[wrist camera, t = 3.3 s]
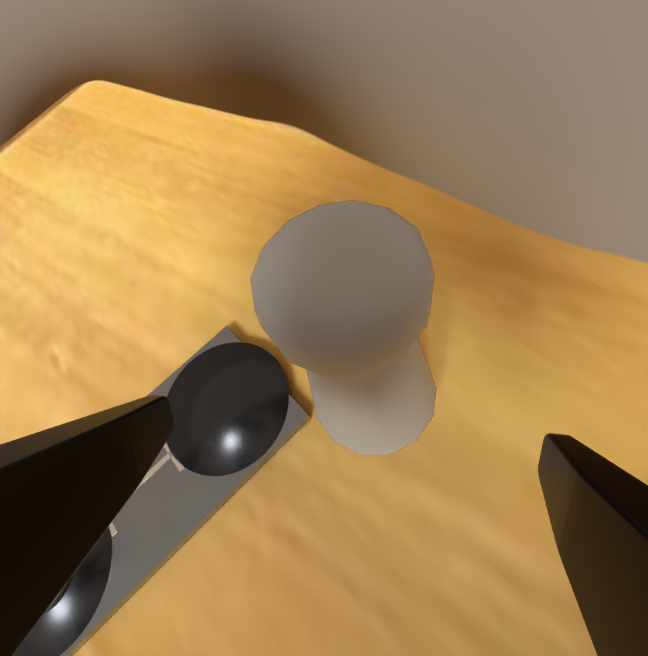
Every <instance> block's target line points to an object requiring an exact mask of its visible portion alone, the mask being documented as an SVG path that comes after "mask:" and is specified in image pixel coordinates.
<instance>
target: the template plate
mask: <svg viewBox="0 0 648 656" xmlns="http://www.w3.org/2000/svg"><path fill="white" fill-rule="evenodd" d="M149 395H162V396H166V397H167V398H168V399H169V401H170V405H171V409H172V414H173V418H174V429H173V432H172V433H171V435H170V437H169V438H168V440H167V442H166V443H165V445H164V446H163V448H162V450H161V451H160V453H159V455H158V456H157V458H156V459H155V461H154V463H153V464H152V466H151V468H150V469H149V471H148V472H147V474H146V476H145V477H144V479H143V480H142V482H141V483H140V485H139V486H138V487H137V489H136V490H135V492H134V493H133V494H132V496H131V497H130V498H129V500H128V501H127V502H126V504H125V505H124V506H123V508H122V509H121V510H120V512H119V513H118V514H117V516H116V517H115V518H114V520H113V521H112V522H111V524H110V525H109V526H108V528H107V529H106V531H105V532H104V533H103V535H102V536H101V537H100V539H99V540H98V541H97V543H96V544H95V545H94V547H93V548H92V549H91V551H90V552H89V553H88V555H87V556H86V557H85V559H84V560H83V561H82V563H81V564H80V565H79V567H78V568H77V570H76V571H75V572H74V576H73V579H72V581H71V584H70V586H69V588H68V590H67V592H66V593H65V595H64V596H63V598H62V599H61V600H60V601H59V603H58V604H57V605H56V606H55V607H53V608H52V609H51V610H50V611H48V612H46V613H45V614H43V615H42V617H41V618H40V619H39V621H38V622H37V623H36V625H35V626H34V627H33V629H32V630H31V631H30V633H29V634H28V635H27V637H26V638H25V639H24V641H23V642H22V643H21V645H20V646H19V648H18V649H17V650H16V652H15V653H14V654H13V656H73V655H74V654H75V653H76V652H77V651H78V650H79V649H80V648H81V647H82V646H83V645H84V644H85V643H86V642H87V641H88V640H89V639H90V638H91V637H92V636H93V635H94V634H95V633H96V632H97V631H98V630H99V629H100V628H101V627H102V626H103V625H104V624H105V623H106V622H107V621H108V620H109V619H110V618H111V617H112V616H113V615H114V614H115V613H116V612H117V611H118V610H119V609H120V608H121V607H122V606H123V605H124V604H125V603H126V602H127V601H128V600H129V599H130V598H131V597H132V596H133V595H134V594H135V593H136V592H137V591H138V590H139V589H140V588H141V587H142V586H143V585H144V584H145V583H146V582H147V581H148V580H149V579H150V578H151V577H152V576H153V575H154V574H155V573H156V572H157V571H158V570H159V569H160V568H161V567H162V566H163V565H164V564H165V563H166V562H167V561H168V560H169V559H170V558H171V557H172V556H173V555H174V554H175V553H176V552H177V551H178V550H179V549H180V548H181V547H182V546H183V545H184V544H185V543H186V542H187V541H188V540H189V539H190V538H191V537H192V536H193V535H194V534H195V533H196V532H197V531H198V530H199V529H200V528H201V527H202V526H203V525H204V524H205V523H206V522H207V521H208V520H209V519H210V518H211V517H212V516H213V515H214V514H215V513H216V512H217V511H218V510H219V509H220V508H221V507H222V506H223V505H224V504H225V503H226V502H227V501H228V500H229V499H230V498H231V497H232V496H233V495H234V494H235V493H236V492H237V491H238V490H239V489H240V488H241V487H242V486H243V485H244V484H245V483H246V482H247V481H248V480H249V479H250V478H251V477H252V476H253V475H254V474H255V473H256V472H257V471H258V470H259V469H260V468H261V467H262V466H263V465H264V464H265V463H266V462H267V461H268V460H269V459H270V458H271V457H272V456H273V455H274V454H275V453H276V452H277V451H278V450H279V449H280V448H281V447H282V446H283V445H284V444H285V443H286V442H287V441H288V440H289V439H290V438H291V437H292V436H293V435H294V434H295V433H296V432H297V431H298V430H299V429H300V428H301V427H302V426H303V425H304V424H305V423H306V422H307V421H308V420H309V419H310V418H311V417H310V416H309V415H308V414H307V413H306V412H305V411H304V410H303V408H302V407H301V406H300V405H299V404H298V403H297V402H296V401H295V400H294V399H293V398H292V394H291V387H290V383H289V380H288V377H287V375H286V373H285V371H284V369H283V368H282V366H281V365H280V364H279V363H278V361H277V360H276V359H275V358H274V357H273V356H272V355H271V354H270V353H268V352H267V351H265V350H264V349H262V348H260V347H258V346H256V345H252V344H249V343H242V342H241V341H240V340H239V339H238V338H237V337H236V336H235V335H234V334H233V333H232V331H231V330H230V329H229V328H228V327H227V326H226V327H225V328H224V329H223V330H222V331H221V332H219V333H218V334H217V335H216V336H215V337H214V338H213V339H212V340H210V341H209V342H208V343H207V344H206V345H205V346H204V347H202V348H201V349H200V350H199V351H198V352H197V353H196V354H195V355H193V356H192V357H191V358H190V359H189V360H188V361H187V362H186V363H184V364H183V365H182V366H181V367H180V368H179V369H178V370H177V371H175V372H174V373H173V374H172V375H171V376H170V377H169V378H167V379H166V380H165V381H164V382H163V383H162V384H161V385H160V386H158V387H157V388H156V389H155V390H154V391H153V392H152V393H151V394H149ZM149 395H148V396H149Z"/></svg>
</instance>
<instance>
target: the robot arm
mask: <svg viewBox="0 0 648 656" xmlns="http://www.w3.org/2000/svg"><path fill="white" fill-rule="evenodd" d="M173 429H174V418H173V414H172V409H171V405H170V401H169V399H168V398H167V397H166V396H162V395H149V396H146V397H143V398H140V399H137V400H134V401H131V402H128V403H125V404H122V405H119V406H116V407H113V408H110V409H107V410H104V411H101V412H98V413H95V414H92V415H89V416H86V417H83V418H80V419H77V420H74V421H71V422H68V423H65V424H62V425H59V426H55V427H52V428H49V429H46V430H43V431H40V432H37V433H34V434H31V435H28V436H25V437H22V438H19V439H16V440H13V441H10V442H7V443H4V444H1V445H0V656H13V654H14V653H15V652H16V650H17V649H18V648H19V646H20V645H21V643H22V642H23V641H24V639H25V638H26V637H27V635H28V634H29V633H30V631H31V630H32V629H33V627H34V626H35V625H36V623H37V622H38V621H39V619H40V618H41V617H42V615H43V614H44V613H45V611H46V610H47V609H48V607H49V606H50V604H51V603H52V602H53V600H54V599H55V598H56V596H57V595H58V594H59V592H60V591H61V590H62V588H63V587H64V586H65V584H66V583H67V582H68V580H69V579H70V578H71V576H72V575H73V574H74V572H75V571H76V570H77V568H78V567H79V565H80V564H81V563H82V561H83V560H84V559H85V557H86V556H87V555H88V553H89V552H90V551H91V549H92V548H93V547H94V545H95V544H96V543H97V541H98V540H99V539H100V537H101V536H102V535H103V533H104V532H105V531H106V529H107V528H108V526H109V525H110V524H111V522H112V521H113V520H114V518H115V517H116V516H117V514H118V513H119V512H120V510H121V509H122V508H123V506H124V505H125V504H126V502H127V501H128V500H129V498H130V497H131V496H132V494H133V493H134V492H135V490H136V489H137V487H138V486H139V485H140V483H141V482H142V480H143V479H144V477H145V476H146V474H147V472H148V471H149V469H150V468H151V466H152V464H153V463H154V461H155V459H156V458H157V456H158V455H159V453H160V451H161V450H162V448H163V446H164V445H165V443H166V442H167V440H168V438H169V437H170V435H171V433H172V432H173ZM538 473H539V479H540V483H541V487H542V491H543V495H544V499H545V502H546V506H547V510H548V514H549V518H550V522H551V526H552V530H553V534H554V537H555V541H556V545H557V548H558V552H559V554H560V557H561V560H562V563H563V566H564V568H565V571H566V574H567V576H568V579H569V582H570V584H571V587H572V589H573V592H574V595H575V597H576V600H577V603H578V605H579V608H580V611H581V613H582V616H583V618H584V621H585V624H586V626H587V629H588V632H589V634H590V637H591V640H592V642H593V645H594V647H595V650H596V653H597V655H598V656H648V485H646V484H645V483H643V482H642V481H640V480H639V479H637V478H635V477H634V476H632V475H631V474H629V473H628V472H626V471H624V470H623V469H621V468H620V467H618V466H617V465H615V464H614V463H612V462H610V461H609V460H607V459H606V458H604V457H603V456H601V455H599V454H598V453H596V452H595V451H593V450H592V449H590V448H589V447H587V446H585V445H584V444H582V443H581V442H579V441H578V440H576V439H574V438H573V437H571V436H569V435H563V434H552V433H548V434H547V435H545V437H544V440H543V444H542V450H541V455H540V460H539V465H538Z"/></svg>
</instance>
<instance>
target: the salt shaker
mask: <svg viewBox="0 0 648 656" xmlns="http://www.w3.org/2000/svg"><path fill="white" fill-rule="evenodd" d="M250 280H251V287H252V294H253V301H254V307H255V312H256V315H257V317H258V320H259V322H260V325H261V327H262V328H263V330H264V331H265V332H266V333H267V335H268V336H269V337H270V339H271V340H272V341H273V343H274V344H275V345H276V346H277V348H278V349H279V350H280V352H281V353H282V354H283V355H284V356H285V357H286V358H287V359H288V360H289V361H290V362H291V363H292V364H295V365H297V366H300V367H302V368H305V369H306V370H307V374H308V379H309V383H310V387H311V392H312V396H313V401H314V406H315V411H316V415H317V420H318V421H319V422H320V424H321V425H322V426H323V428H324V429H325V430H326V432H327V433H328V434H329V436H330V437H331V439H332V440H333V441H334V442H335V443H337V444H340V445H342V446H344V447H346V448H348V449H350V450H352V451H354V452H356V453H358V454H360V455H388V454H392V453H394V452H396V451H398V450H400V449H402V448H403V447H405V446H407V445H409V444H411V443H413V442H415V441H417V439H418V438H419V436H420V435H421V433H422V432H423V431H424V429H425V428H426V426H427V425H428V423H429V422H430V420H431V419H432V418H433V415H434V405H435V396H436V386H435V384H434V381H433V378H432V375H431V373H430V370H429V367H428V364H427V361H426V359H425V356H424V353H423V350H422V348H421V345H420V342H419V339H418V336H419V335H420V334H421V332H422V331H423V330H424V328H425V327H426V326H427V322H428V318H429V314H430V308H431V299H432V291H433V282H434V272H433V267H432V262H431V258H430V256H429V254H428V251H427V249H426V247H425V244H424V242H423V240H422V237H421V235H420V233H419V231H418V228H416V227H415V226H414V225H412V224H411V223H409V222H408V221H407V220H405V219H404V218H402V217H401V216H400V215H398V214H397V213H395V212H394V211H392V210H391V209H390V208H386V207H381V206H377V205H372V204H368V203H363V202H359V201H345V202H338V203H332V204H325V205H318V206H316V207H314V208H312V209H310V210H308V211H306V212H304V213H302V214H300V215H298V216H296V217H294V218H292V219H290V220H289V221H287V222H286V223H285V224H284V225H283V226H282V227H281V228H280V229H279V230H278V232H277V233H276V234H275V235H274V236H273V237H272V238H271V239H270V240H269V241H268V242H267V243H266V244H265V245H264V247H263V248H262V250H261V253H260V255H259V258H258V260H257V263H256V266H255V268H254V271H253V273H252V276H251V278H250Z"/></svg>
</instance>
